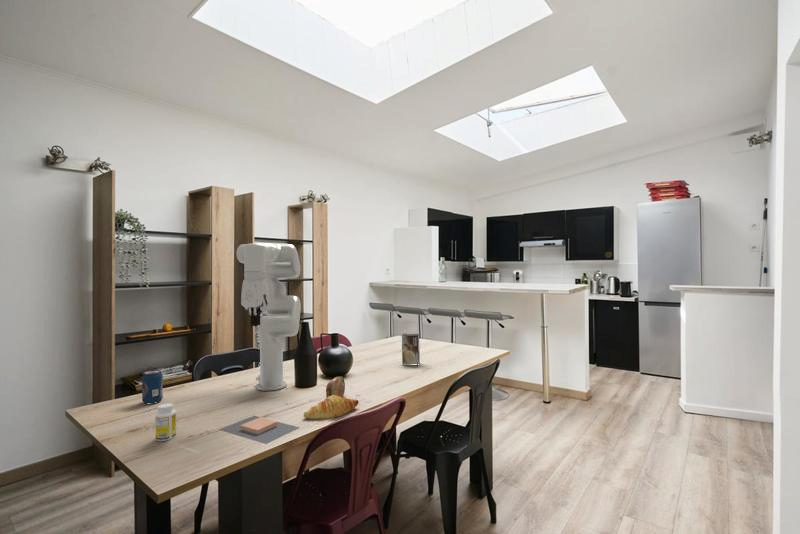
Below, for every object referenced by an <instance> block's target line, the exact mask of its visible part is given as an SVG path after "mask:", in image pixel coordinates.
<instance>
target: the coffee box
mask: <svg viewBox="0 0 800 534" xmlns="http://www.w3.org/2000/svg"><path fill="white" fill-rule="evenodd" d="M420 353H421V352H420V333H402V335H401V359H402V361H401V362H402V364H417V365H418V364H419V363H420V364H421V358H420ZM402 364H401V365H402ZM420 364H419V365H420Z"/></svg>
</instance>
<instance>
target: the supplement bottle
mask: <svg viewBox="0 0 800 534" xmlns="http://www.w3.org/2000/svg"><path fill="white" fill-rule="evenodd" d="M154 419H155V440H156V441H158V442H167V441H169V440H173V439H174V438H176V437H177V411H176V410H175V409H174V405H173V403H170V402H169V403H163V404H160V405H158V407H157V412H156V413H155V418H154Z"/></svg>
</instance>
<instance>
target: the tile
mask: <svg viewBox="0 0 800 534" xmlns="http://www.w3.org/2000/svg"><path fill="white" fill-rule="evenodd" d="M259 417H260V418H257V419H255V420H252V421H250V422H247V423H245V424H243V425H241V430H243V431H246V432H250V433H253V434H256V435H259V434H261V433H263V432H265V431H268V430H270V429H272V428H274V427H276V426H277V422H278V421H277V420H274V419H269V418H265V417H261V416H259Z"/></svg>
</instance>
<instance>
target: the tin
mask: <svg viewBox="0 0 800 534" xmlns="http://www.w3.org/2000/svg"><path fill="white" fill-rule="evenodd" d="M345 388H346V384H345V379H344V376H336V377H334V378H333V379H331V380H330V381H329V382H328V383H327V385H326V389H325V395H326V396H325V397H326V398H327V397H329V396H331V395H338V396H341V397H342V398H343V397H344V394H345V390H346V389H345Z"/></svg>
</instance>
